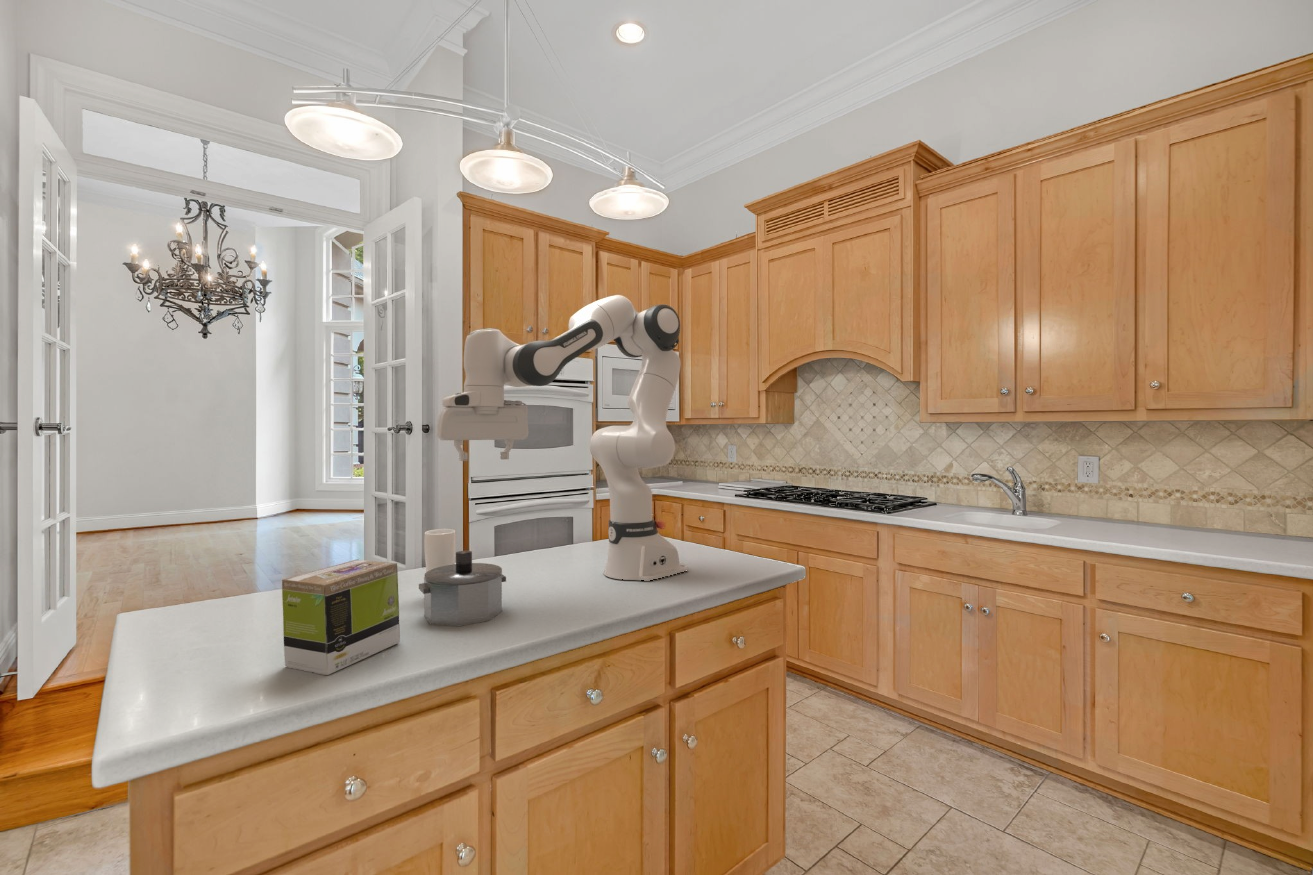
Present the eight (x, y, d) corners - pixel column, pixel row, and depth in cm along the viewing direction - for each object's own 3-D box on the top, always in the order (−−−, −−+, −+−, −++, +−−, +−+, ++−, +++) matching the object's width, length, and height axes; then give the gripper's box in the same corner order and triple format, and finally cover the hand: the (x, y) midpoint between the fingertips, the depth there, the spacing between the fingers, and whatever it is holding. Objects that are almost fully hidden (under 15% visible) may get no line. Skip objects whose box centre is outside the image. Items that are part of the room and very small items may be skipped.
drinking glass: (461, 593, 137) (460, 529, 137) (448, 601, 130) (447, 534, 130) (433, 592, 138) (433, 528, 137) (419, 601, 131) (418, 533, 131)
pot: (492, 598, 132) (491, 563, 132) (514, 615, 121) (514, 577, 120) (413, 611, 123) (413, 573, 123) (429, 631, 111) (429, 589, 111)
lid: (488, 568, 132) (488, 542, 132) (512, 583, 120) (512, 554, 120) (417, 578, 124) (417, 550, 124) (434, 595, 111) (434, 564, 111)
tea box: (359, 636, 109) (358, 557, 109) (401, 644, 105) (400, 561, 105) (281, 668, 95) (280, 576, 95) (326, 677, 91) (325, 582, 91)
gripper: (522, 401, 143) (523, 458, 143) (435, 399, 132) (435, 460, 132) (532, 400, 138) (532, 459, 138) (442, 397, 126) (442, 462, 127)
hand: (484, 460), depth 135 cm, fingers open, 8 cm apart
